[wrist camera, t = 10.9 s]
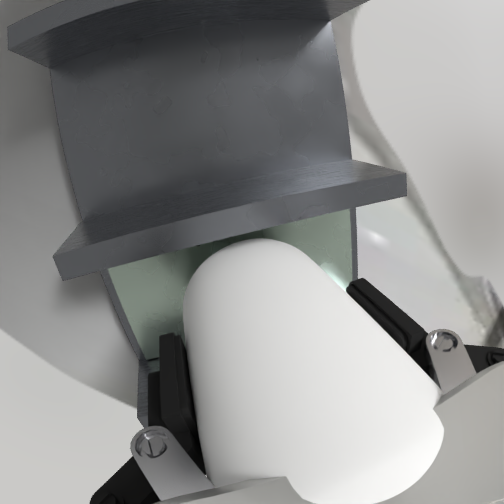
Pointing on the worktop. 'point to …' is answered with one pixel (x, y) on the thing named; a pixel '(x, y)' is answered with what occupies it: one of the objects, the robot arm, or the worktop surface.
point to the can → (302, 381)
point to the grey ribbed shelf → (199, 144)
